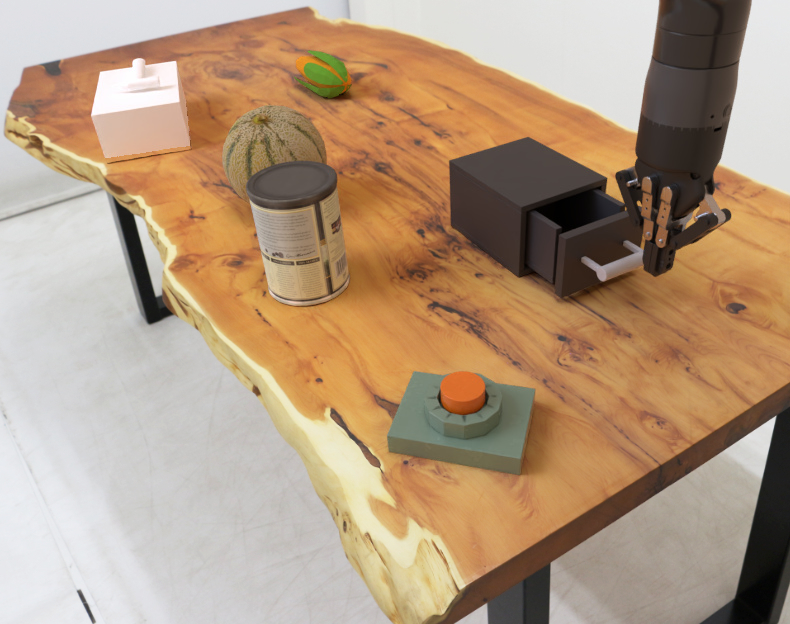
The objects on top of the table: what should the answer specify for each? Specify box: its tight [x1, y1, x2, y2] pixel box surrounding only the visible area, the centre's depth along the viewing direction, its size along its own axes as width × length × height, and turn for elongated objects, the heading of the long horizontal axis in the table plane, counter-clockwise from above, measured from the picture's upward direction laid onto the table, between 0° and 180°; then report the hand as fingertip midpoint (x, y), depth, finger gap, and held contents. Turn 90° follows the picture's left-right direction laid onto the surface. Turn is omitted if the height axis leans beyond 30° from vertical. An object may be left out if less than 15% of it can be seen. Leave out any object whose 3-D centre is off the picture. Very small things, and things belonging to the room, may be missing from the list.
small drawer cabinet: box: [448, 136, 608, 278], centre depth 91 cm, size 16×13×10 cm
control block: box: [386, 370, 537, 476], centre depth 66 cm, size 12×9×4 cm
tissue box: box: [90, 57, 191, 159], centre depth 131 cm, size 14×25×11 cm, turn 15°
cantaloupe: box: [221, 104, 328, 205], centre depth 102 cm, size 15×15×15 cm
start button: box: [440, 370, 485, 415], centre depth 64 cm, size 4×4×2 cm
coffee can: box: [246, 161, 351, 307], centre depth 84 cm, size 10×10×14 cm
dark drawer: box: [524, 188, 644, 299], centre depth 84 cm, size 19×11×8 cm, turn 28°
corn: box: [293, 49, 353, 99], centre depth 144 cm, size 7×8×20 cm
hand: (656, 271), depth 73 cm, fingers closed
